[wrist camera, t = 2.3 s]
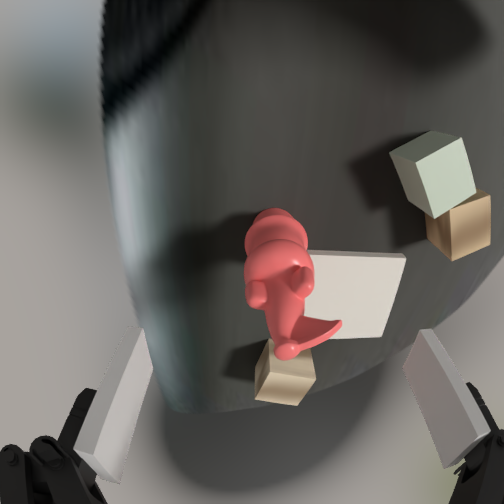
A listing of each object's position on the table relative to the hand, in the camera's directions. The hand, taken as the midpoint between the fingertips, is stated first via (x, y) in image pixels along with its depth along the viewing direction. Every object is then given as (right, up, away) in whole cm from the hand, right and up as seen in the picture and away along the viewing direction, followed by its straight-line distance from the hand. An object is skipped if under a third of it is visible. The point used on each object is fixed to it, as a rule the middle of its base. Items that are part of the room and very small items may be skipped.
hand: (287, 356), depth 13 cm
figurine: (0, +7, +14) cm, 15 cm away
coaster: (+8, 0, +16) cm, 18 cm away
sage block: (+14, +13, +10) cm, 21 cm away
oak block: (+18, +9, +12) cm, 23 cm away
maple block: (+2, -8, +21) cm, 22 cm away
